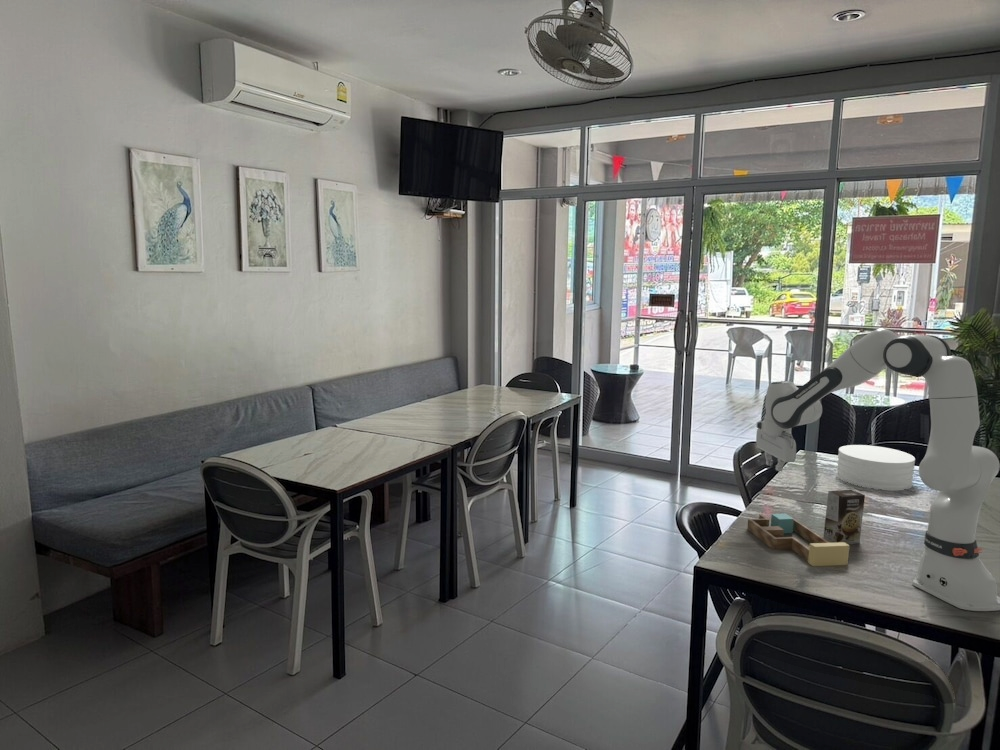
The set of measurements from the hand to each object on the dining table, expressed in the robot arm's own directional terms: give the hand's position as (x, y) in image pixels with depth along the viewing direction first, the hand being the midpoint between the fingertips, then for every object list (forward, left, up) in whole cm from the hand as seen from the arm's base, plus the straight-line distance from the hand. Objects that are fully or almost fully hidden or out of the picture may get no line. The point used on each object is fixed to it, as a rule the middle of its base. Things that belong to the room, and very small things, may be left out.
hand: (773, 467), depth 237 cm
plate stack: (+43, -69, -20) cm, 84 cm away
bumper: (-34, 0, -19) cm, 39 cm away
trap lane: (-17, +3, -19) cm, 26 cm away
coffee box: (-18, -15, -19) cm, 30 cm away
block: (-8, 0, -19) cm, 21 cm away
